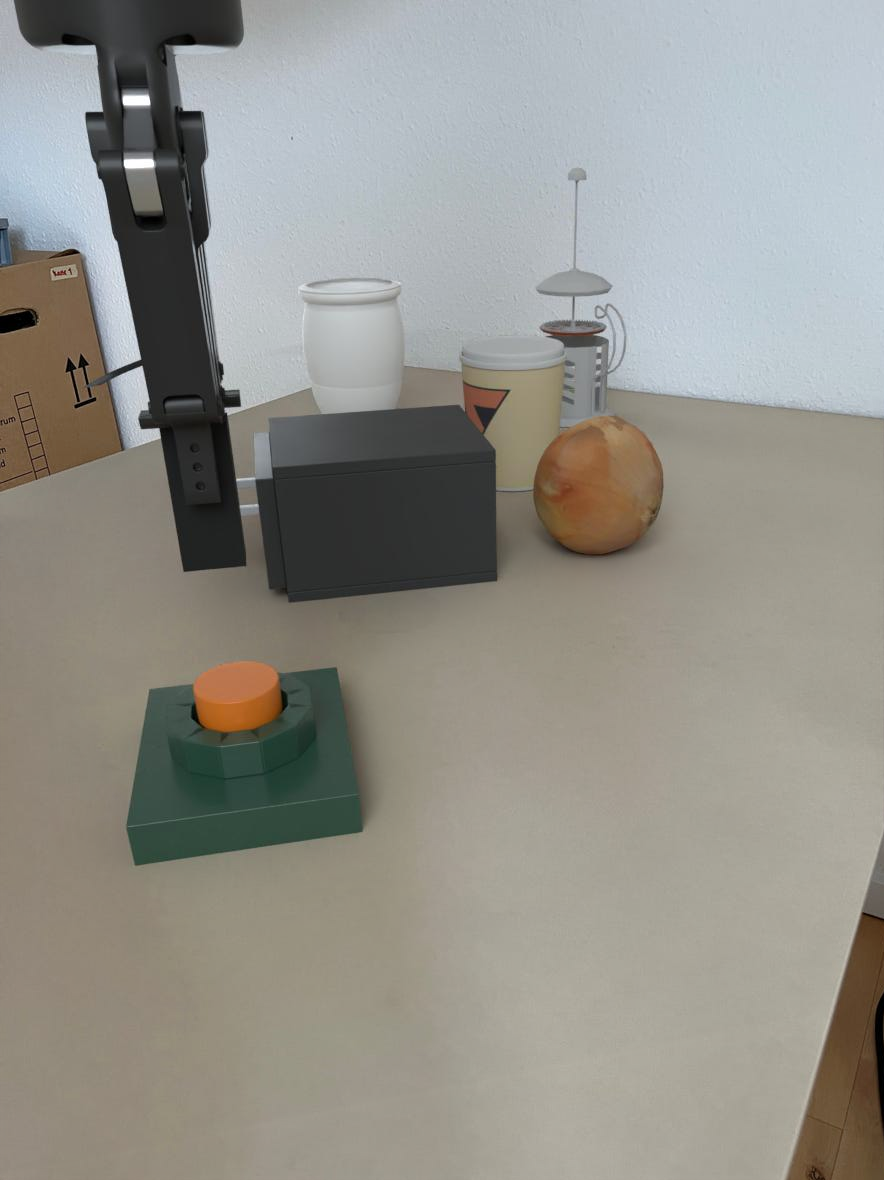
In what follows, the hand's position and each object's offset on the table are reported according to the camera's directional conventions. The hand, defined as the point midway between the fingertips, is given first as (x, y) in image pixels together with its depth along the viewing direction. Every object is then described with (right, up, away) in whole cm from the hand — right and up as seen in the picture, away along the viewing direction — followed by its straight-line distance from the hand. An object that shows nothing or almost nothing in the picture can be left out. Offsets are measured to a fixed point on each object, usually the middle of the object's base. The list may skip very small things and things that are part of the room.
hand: (215, 562), depth 44 cm
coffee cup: (+15, +11, +46) cm, 50 cm away
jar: (-1, +19, +61) cm, 64 cm away
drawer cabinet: (+5, +3, +29) cm, 30 cm away
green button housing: (0, -10, +5) cm, 11 cm away
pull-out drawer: (+1, +3, +28) cm, 29 cm away
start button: (0, -7, +3) cm, 8 cm away
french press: (+23, +21, +65) cm, 72 cm away
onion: (+21, +3, +31) cm, 37 cm away
